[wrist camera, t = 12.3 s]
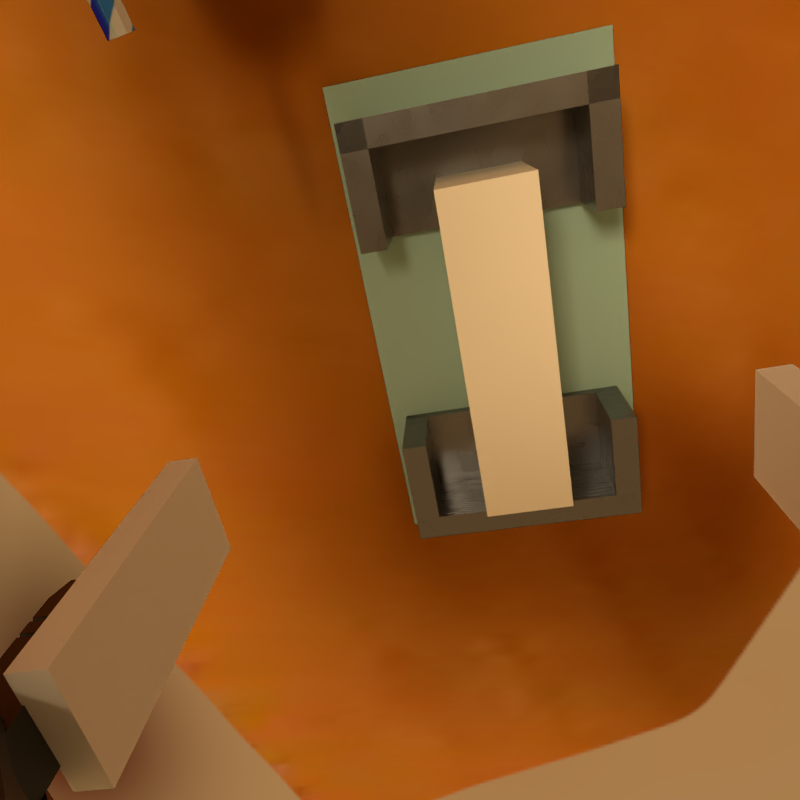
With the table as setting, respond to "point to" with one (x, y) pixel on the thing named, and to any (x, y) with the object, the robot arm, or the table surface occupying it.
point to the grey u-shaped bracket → (485, 150)
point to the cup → (112, 17)
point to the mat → (424, 257)
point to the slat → (506, 334)
